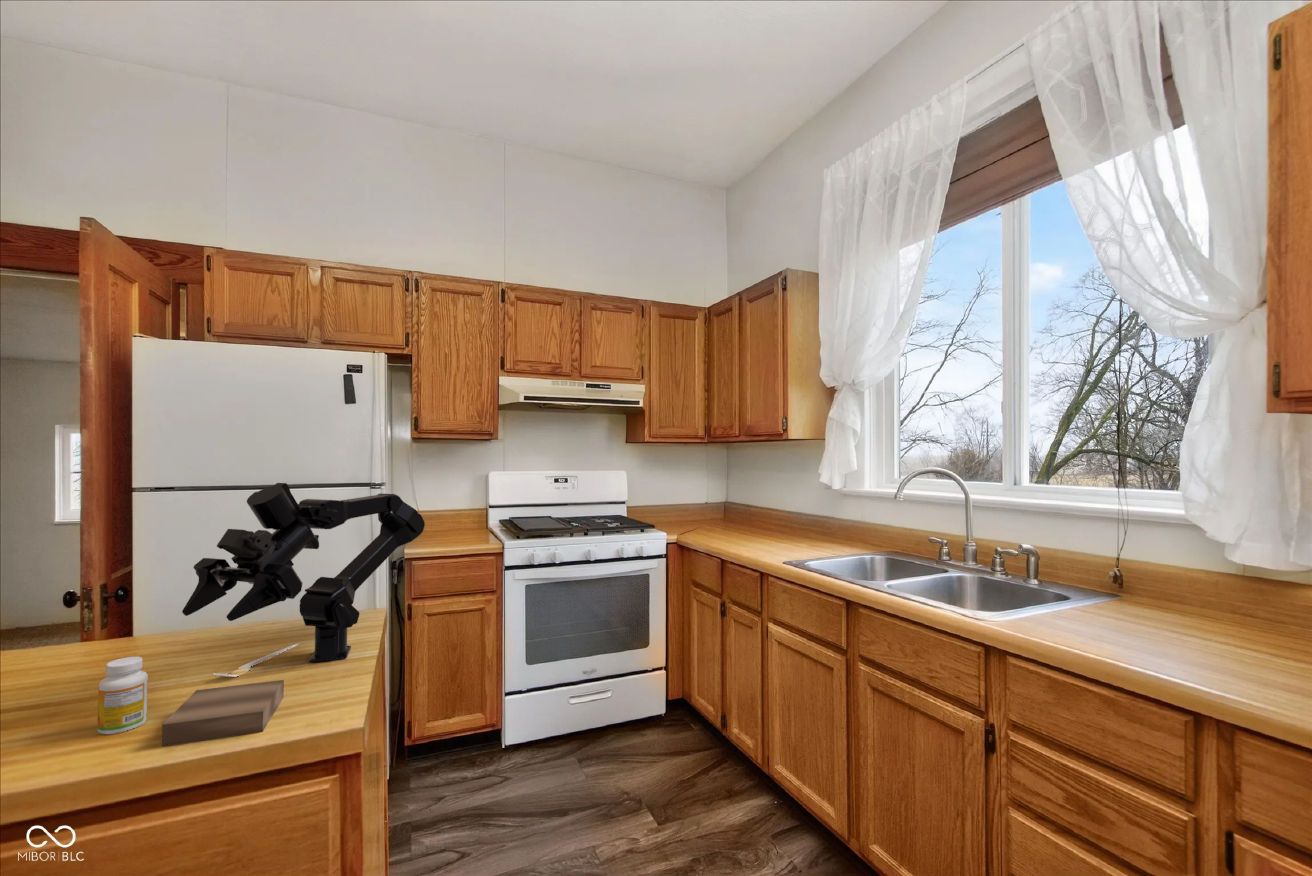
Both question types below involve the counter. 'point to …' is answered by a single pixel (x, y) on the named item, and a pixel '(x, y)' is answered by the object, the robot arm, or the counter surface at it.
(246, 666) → the fork
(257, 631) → the counter surface
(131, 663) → the supplement bottle
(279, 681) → the walnut base
